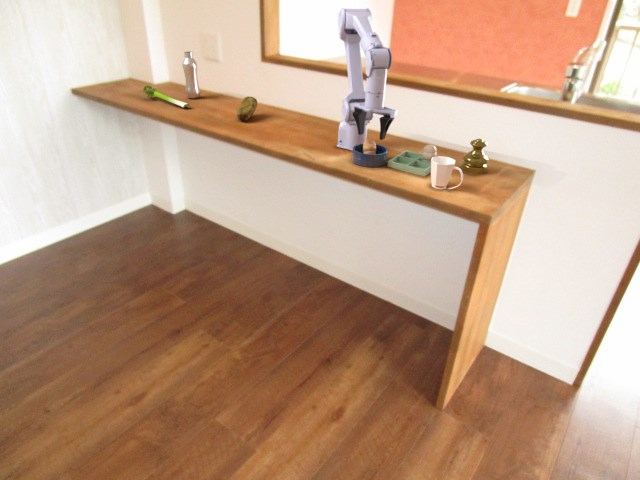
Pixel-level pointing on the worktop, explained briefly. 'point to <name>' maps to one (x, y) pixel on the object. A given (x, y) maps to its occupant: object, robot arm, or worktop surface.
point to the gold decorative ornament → (475, 158)
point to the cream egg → (428, 153)
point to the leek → (163, 96)
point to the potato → (246, 108)
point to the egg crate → (410, 163)
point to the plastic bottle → (191, 75)
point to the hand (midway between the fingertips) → (371, 136)
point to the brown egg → (369, 147)
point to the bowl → (370, 156)
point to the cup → (443, 171)
